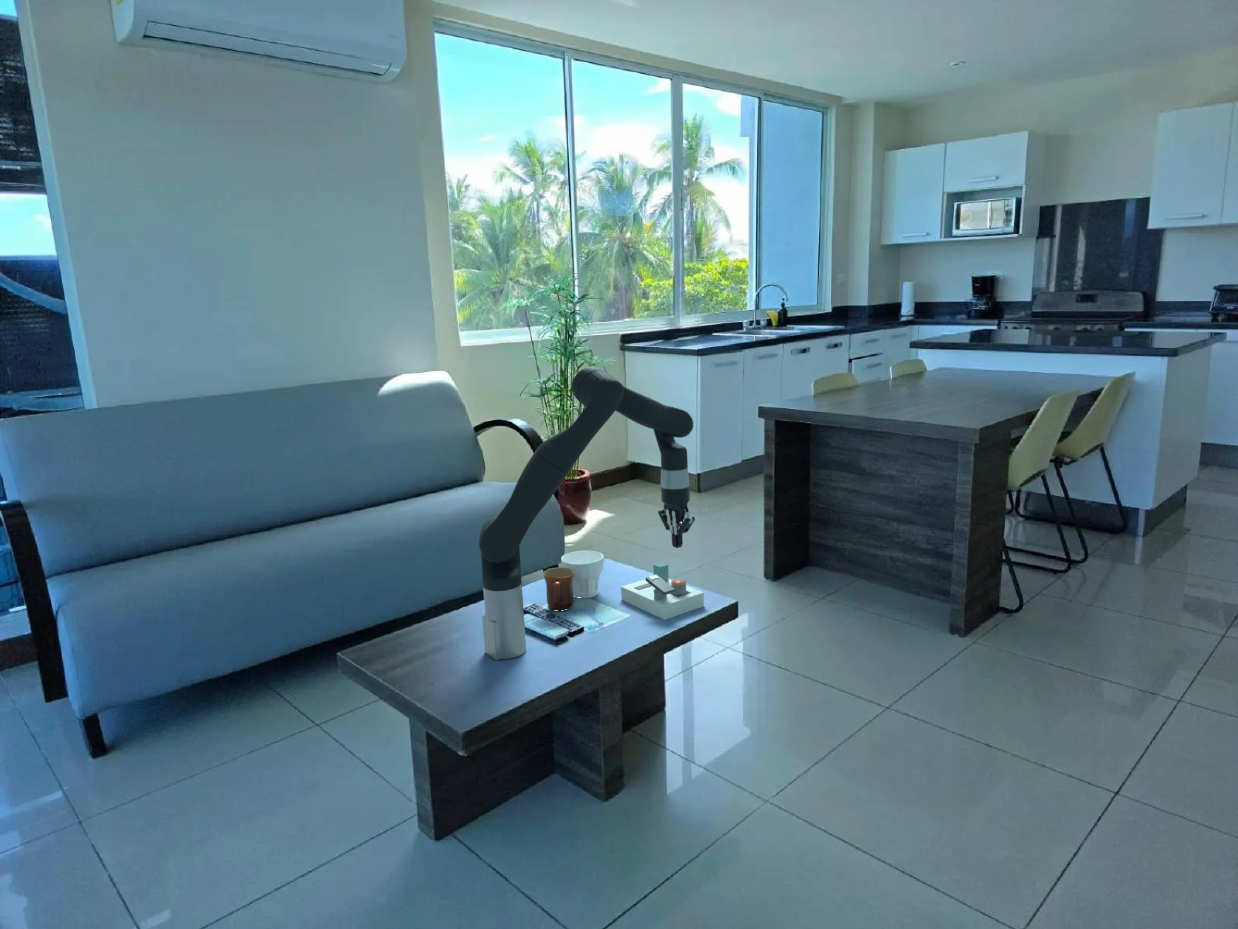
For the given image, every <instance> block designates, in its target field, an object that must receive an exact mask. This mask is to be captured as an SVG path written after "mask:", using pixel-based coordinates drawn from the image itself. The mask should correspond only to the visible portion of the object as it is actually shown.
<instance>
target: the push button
mask: <svg viewBox="0 0 1238 929" xmlns="http://www.w3.org/2000/svg"><path fill="white" fill-rule="evenodd" d="M671 580H672V581H671V586H672V587H673V588H674V589H675V592H673V593H672V595H674V596H676V597H681V596H684V595H686V586H687V581H686V580H685V579H683V578H675V579H671Z"/></svg>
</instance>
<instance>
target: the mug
mask: <svg viewBox="0 0 1238 929" xmlns="http://www.w3.org/2000/svg"><path fill="white" fill-rule="evenodd" d="M574 573H575V571H574V570H573V569H570V568H565V567H563V566H562V567H561V566H559V567H552V568H548V569H546V570H544V571H543V572H542V576H543V579H544V581H545V586H546V588H545V590H546V603H547V607H548V609H549V610H551V609H552V610H551V611H553V610H558V611H557V612H562V611H561V610H565V609H569V610H570V609H572V607H573V606H574V603H575V602H574V601H575V598H574V596H573V577H574Z"/></svg>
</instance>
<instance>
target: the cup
mask: <svg viewBox="0 0 1238 929" xmlns="http://www.w3.org/2000/svg"><path fill="white" fill-rule="evenodd" d="M604 559H605V556H604V554H603V553H601V552H600V551H596V550H595V551H594V550H575V551H570V552H568V553H564V554H563V555H562V556H561V558H560V560H561V564H562V567H565V568H570V569H573V570H574V571H575V573H574V577H573V596H575V597H581V598H584V599H591V598H594V597H596V596H598V595H599V592H600V591H599V584H600V576H601V574H602V572H603V571H604V569H603V568H604Z"/></svg>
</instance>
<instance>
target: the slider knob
mask: <svg viewBox="0 0 1238 929" xmlns="http://www.w3.org/2000/svg"><path fill="white" fill-rule="evenodd" d="M652 568H653V569H652V570H653V575H656V574H657V575H658V576H659V577H660V578H662V579H663V580H664V581H667V580H669V579H670V578H669V564H667V563H665V562H658V563H654V564H653V567H652Z"/></svg>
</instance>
